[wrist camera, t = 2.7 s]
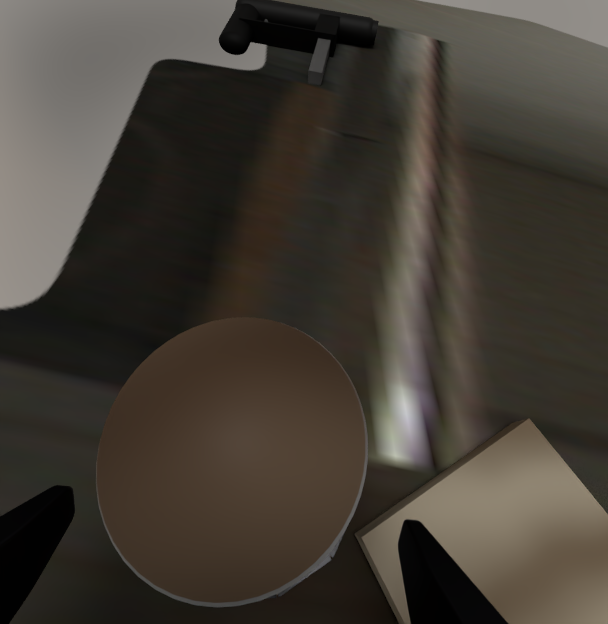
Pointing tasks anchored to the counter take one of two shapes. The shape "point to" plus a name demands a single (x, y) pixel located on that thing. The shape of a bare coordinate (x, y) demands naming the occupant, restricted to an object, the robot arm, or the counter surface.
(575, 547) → the beige cloth napkin
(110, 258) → the counter surface
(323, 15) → the door handle
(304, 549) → the tapered cup
